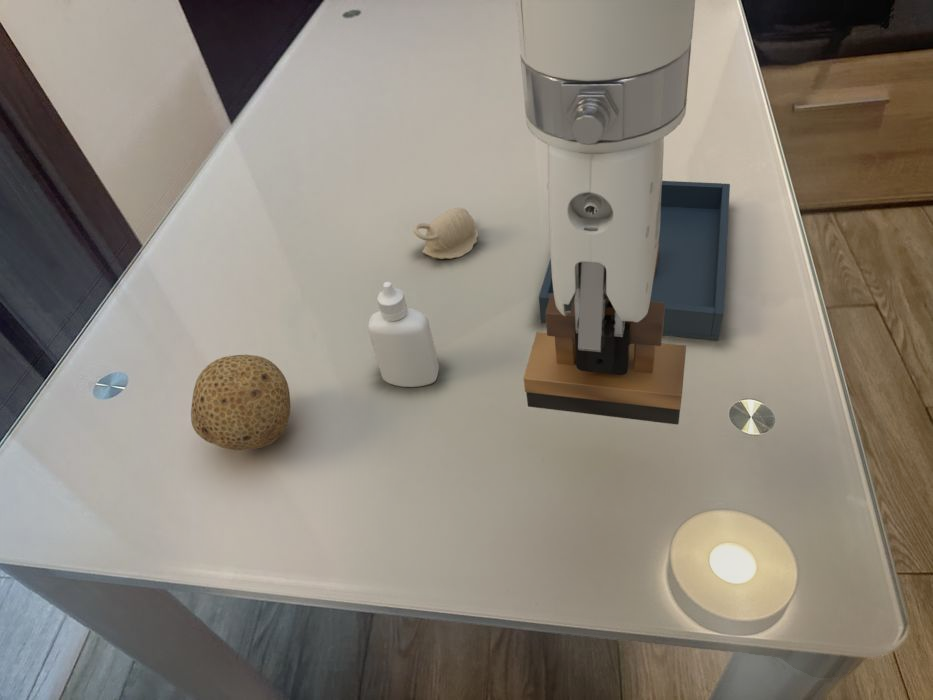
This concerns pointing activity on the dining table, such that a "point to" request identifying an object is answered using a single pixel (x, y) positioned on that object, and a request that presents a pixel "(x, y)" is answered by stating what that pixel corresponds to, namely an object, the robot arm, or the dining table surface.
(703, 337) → the tray
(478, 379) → the dining table surface
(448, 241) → the decorative ornament
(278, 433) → the natural sponge
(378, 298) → the eye dropper bottle
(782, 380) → the dining table surface
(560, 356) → the brush
